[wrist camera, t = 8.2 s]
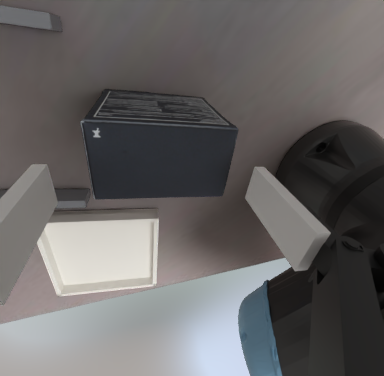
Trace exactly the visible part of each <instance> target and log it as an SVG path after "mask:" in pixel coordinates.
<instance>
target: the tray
mask: <svg viewBox="0 0 384 376" xmlns="http://www.w3.org/2000/svg"><path fill="white" fill-rule="evenodd" d="M158 228H159V215H158V208H154V209H119V210H84V211H53V213H52V215H51V217H50V219H49V221H48V223H47V225H46V227H45V228H44V230H43V232H42V234H41V236H40V238H39V240H38V242H37V245H38V247H39V250H40V252H41V255H42V257H43V260H44V262H45V265H46V268H47V270H48V273H49V275H50V278H51V280H52V283H53V285H54V288H55V291H56V293H57V296H58V297H59V296H68V295H77V294H86V293H96V292H105V291H114V290H123V289H132V288H142V287H151V286H156V278H157V253H158Z"/></svg>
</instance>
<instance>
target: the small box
mask: <svg viewBox="0 0 384 376" xmlns="http://www.w3.org/2000/svg"><path fill="white" fill-rule="evenodd" d="M80 125H81V129H82V135H83V140H84V146H85V152H86V157H87V163H88V170H89V174H90V180H91V186H92V193H93V197H94V199H128V198H166V197H212V196H222V195H223V193H224V189H225V186H226V181H227V177H228V173H229V169H230V165H231V160H232V156H233V152H234V148H235V143H236V139H237V134H238V128H237V127H236V126H234V125H233V124H231V123H230V122H229V121H227V120H226V119H225V118H224V117H223V116H221V114H219V113H218V112H217V111H216V110H215V109H214V108H213V107H212V106H211V105H210V104H208V102H207V101H206V100H205V99H204V98H199V97H190V96H178V95H168V94H156V93H148V92H136V91H123V90H109V89H105V90H104V91H103V92H102V95H101V97H100V98H99V99H98V101H97V102H96V103H95V105H94V106H93V107H92V109H91V110H90V111H89V113H88V114H87V116H86V117H85V118H84V119H82V121H81V122H80Z"/></svg>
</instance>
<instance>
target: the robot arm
mask: <svg viewBox="0 0 384 376" xmlns="http://www.w3.org/2000/svg"><path fill="white" fill-rule="evenodd" d="M245 199H246V200H247V202H248V203H249V205H250V206H251V208H252V209H253V211H254V212H255V214H256V215H257V217H258V218H259V219H260V221H261V222H262V224H263V225H264V227H265V228H266V230H267V231H268V233H269V234H270V236H271V237H272V239H273V240H274V242H275V243H276V244H277V246H278V247H279V249H280V250H281V252H282V253H283V255H284V256H285V258H286V259H287V261H288V262H289V264H290V265H291V266H292V267H291V268H289V269H288V270H286V271H284V272H283V273H281V274H279V275H278V276H276V277H275V278H273V279H271V280H270V281H269V280H266V281H265V282H264V283H263V285H262V286H261V287H259V288H258V289H256V290H255V291H254V292H252V293H251V294H249V295H248V296H247V297H246V298H244V300H243V301H242V303H241V306H240V309H239V315H238V324H239V334H240V339H241V344H242V349H243V353H244V356H245V361H246V364H247V367H248V370H249V373H250V376H384V139H383V138H382V137H381V136H380V135H379V134H378V133H377V132H375V131H374V130H372V129H371V128H369V127H366V126H363V125H360V124H358V123H355V122H351V121H336V122H332V123H328V124H325V125H323V126H321V127H319V128H317V129H315V130H313V131H311V132H310V133H308V134H307V135H306V136H304V137H303V138H302V139H301V140H299V141H298V142H297V143H296V144H295V145H294V146H293V147H292V148H291V150H290V151H289V152H288V153H287V155H286V156H285V158H284V159H283V161H282V163H281V165H280V167H279V169H278V172H277V175H276V178H275V177H274V176H273V175H272V174H271V173H270V172H269V171H268V170H267V169H266V168H265V167H254V170H253V173H252V177H251V180H250V183H249V186H248V190H247V193H246V196H245ZM57 204H58V200H57V197H56V193H55V190H54V186H53V182H52V179H51V175H50V172H49V168H48V165H47V164H32V165H31V166H30V167H29V168H28V169H27V170H26V171H25V172H24V173H23V175H22V176H21V177H20V178H19V179H18V180H17V181H16V182H15V183H14V184H13V185H12V187H11V188H10V189H9V190H8V191H7V192H6V193H5V194H4V195H3V196H2V197H1V199H0V306H3V305H4V304H5V302H6V300H7V298H8V297H9V295H10V293H11V291H12V289H13V287H14V285H15V283H16V281H17V280H18V278H19V276H20V274H21V272H22V270H23V268H24V266H25V264H26V263H27V261H28V259H29V257H30V255H31V253H32V251H33V249H34V247H35V245H36V244H37V242H38V240H39V238H40V236H41V234H42V232H43V230H44V228H45V227H46V225H47V223H48V221H49V219H50V217H51V215H52V213H53V211H54V209H55V208H56V206H57Z"/></svg>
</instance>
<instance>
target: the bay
mask: <svg viewBox="0 0 384 376" xmlns="http://www.w3.org/2000/svg"><path fill="white" fill-rule="evenodd" d="M0 23H2V24H10V25H17V26H24V27H31V28H38V29H46V30H53V31H60V32H62V27H61V21H60V17H59V16H56V15H53V14H50V13H46V12H40V11H33V10H27V9H20V8H14V7H7V6H1V5H0ZM54 190H55V193H56V197H57V200H58V204H57V206H56V208H86V207H87V204H88V201H89V198H90V190H89V189H54ZM7 191H8V190H0V199H1V197H2V196H3V195H4V194H5V193H6V192H7Z"/></svg>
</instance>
